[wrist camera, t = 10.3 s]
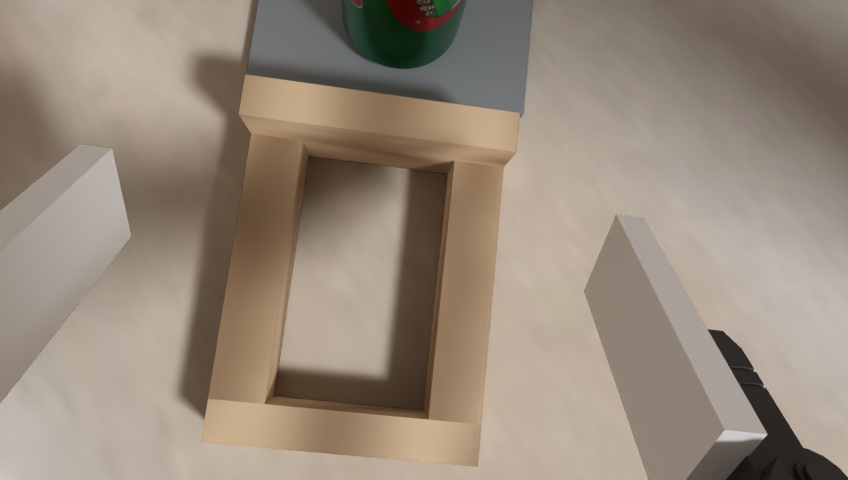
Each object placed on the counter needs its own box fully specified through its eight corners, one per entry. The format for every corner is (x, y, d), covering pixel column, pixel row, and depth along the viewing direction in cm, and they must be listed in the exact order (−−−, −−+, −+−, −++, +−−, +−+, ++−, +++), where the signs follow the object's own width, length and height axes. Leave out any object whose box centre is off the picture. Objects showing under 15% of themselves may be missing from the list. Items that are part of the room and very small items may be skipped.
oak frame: (495, 146, 24) (520, 113, 20) (468, 453, 22) (489, 483, 18) (266, 116, 23) (245, 74, 19) (217, 430, 21) (180, 456, 17)
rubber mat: (532, -24, 25) (535, -31, 25) (520, 118, 24) (523, 113, 24) (273, -66, 24) (271, -74, 24) (249, 80, 23) (246, 74, 23)
